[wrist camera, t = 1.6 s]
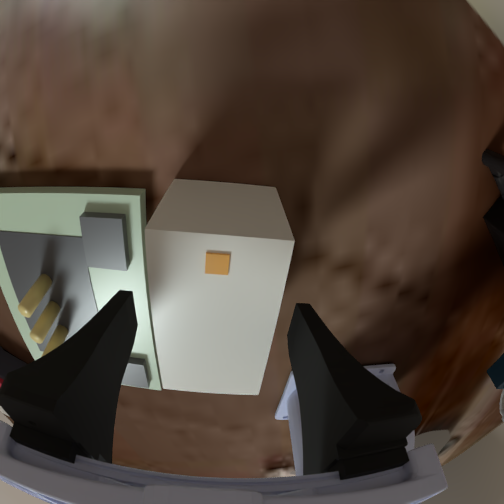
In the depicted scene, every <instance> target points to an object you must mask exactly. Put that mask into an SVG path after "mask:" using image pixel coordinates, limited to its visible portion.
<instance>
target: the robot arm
mask: <svg viewBox="0 0 504 504" xmlns="http://www.w3.org/2000/svg"><path fill="white" fill-rule="evenodd" d="M137 327H138V322H137V316H136V310H135V304H134V297H133V291H126V290H119V291H118V292H117V293H116V294H115V295H114V296H113V297H112V298H111V299H110V300H109V301H108V302H107V303H106V304H105V305H104V306H103V307H102V309H101V310H100V311H99V312H98V313H97V314H96V315H95V316H94V317H93V318H92V319H91V320H89V321H88V322H87V323H86V324H85V325H84V326H83V327H82V328H81V329H80V330H79V331H77V332H76V333H75V334H74V335H73V336H72V337H70V338H69V339H68V340H66V341H65V342H64V343H62V344H61V345H60V346H58V347H56V348H55V349H53V350H52V351H50V352H49V353H47V354H46V355H44V356H42V357H41V358H39V359H37V360H35V361H33V362H31V363H29V364H27V365H25V366H23V367H20V368H18V369H16V370H13V371H11V372H8V373H7V375H6V377H5V379H4V381H3V383H2V385H1V387H0V406H1V407H2V408H3V409H4V411H5V412H6V413H7V414H8V415H9V416H10V417H11V418H12V420H13V421H14V425H13V427H11V426H10V425H8V424H7V423H5V422H3V421H0V479H1V480H2V481H4V482H6V483H8V484H10V485H12V486H13V487H16V488H17V489H20V490H22V491H24V492H26V493H28V494H30V495H32V496H35V497H37V498H39V499H41V500H43V501H46V502H48V503H50V504H421V502H423V501H424V500H427V499H429V498H431V497H432V496H434V495H436V494H438V493H440V492H442V491H443V490H445V489H447V488H448V485H447V482H446V479H445V476H444V473H443V470H442V467H441V464H440V461H439V458H438V455H437V453H436V450H435V447H434V445H433V444H432V443H431V444H428V445H424V446H421V447H418V448H415V449H414V444H415V434H414V430H415V429H416V428H417V426H418V425H419V424H420V422H421V420H422V416H421V414H420V411H419V409H418V406H417V404H416V402H415V400H414V399H412V398H410V397H408V396H406V395H404V394H402V393H400V390H399V388H398V386H397V383H396V381H395V378H394V376H393V373H394V371H395V370H396V366H395V364H383V365H371V366H362V365H361V364H360V363H359V362H358V361H357V360H356V359H355V358H354V357H353V356H352V355H351V354H350V353H349V352H348V351H347V350H346V349H345V348H344V347H343V346H342V345H341V344H340V342H339V341H338V340H337V339H336V338H335V336H334V335H333V334H332V333H331V332H330V330H329V329H328V328H327V326H326V325H325V324H324V323H323V321H322V320H321V319H320V317H319V316H318V314H317V313H316V312H315V310H314V309H313V308H312V306H311V305H310V304H305V303H296V306H295V309H294V313H293V317H292V320H291V324H290V327H289V331H288V334H287V338H288V349H289V357H290V362H291V366H292V371H291V373H290V376H289V379H288V381H287V384H286V387H285V389H284V392H283V395H282V397H281V400H280V403H279V405H278V408H277V410H276V413H275V418H276V419H278V420H287V419H288V420H289V427H290V434H291V441H292V449H293V456H294V464H295V471H296V476H292V477H277V478H210V477H195V476H184V475H174V474H166V473H159V472H152V471H146V470H140V469H134V468H129V467H124V466H119V465H114V464H112V447H113V434H114V423H115V416H116V408H117V402H118V396H119V391H120V387H121V383H122V380H123V377H124V373H125V370H126V367H127V364H128V361H129V358H130V355H131V352H132V349H133V346H134V342H135V337H136V332H137Z"/></svg>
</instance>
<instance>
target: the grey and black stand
mask: <svg viewBox="0 0 504 504" xmlns="http://www.w3.org/2000/svg"><path fill="white" fill-rule="evenodd" d="M482 162H483V164H484V165H486V166H487V167H489V169H490V171H491V173H492V175H493V177H494V179H495V181H496V184H497V186H498V188H499V191H500V193H501V198H499V199H498V200H497V201H496V202H495V204H494V205H493V206H492V207H491V208H490V210H489V211H488V212H487V213H486V214H485V215H484V217H483V218H484V221H485V223H486V225H487V227H488V229H489V231H490V234H491V236H492V238H493V241H494V243H495V245H496V248H497V250H498V253H499V255H500V258H501V260H502V263H503V266H504V156H502V155H500V154H498V153H496V152H494V151H491V150H489V149H486V150H485V151H484V152H483V155H482ZM489 212H490V213H489Z"/></svg>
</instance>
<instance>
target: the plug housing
mask: <svg viewBox="0 0 504 504" xmlns="http://www.w3.org/2000/svg"><path fill="white" fill-rule="evenodd" d="M294 242H295V240H294V237H293V234H292V231H291V229H290V226H289V223H288V220H287V217H286V214H285V212H284V209H283V206H282V203H281V201H280V198H279V195H278V192H277V190H276V187H269V186H259V185H249V184H238V183H227V182H215V181H201V180H186V179H174V180H173V182H172V183H171V185H170V187H169V188H168V190H167V192H166V193H165V195H164V197H163V198H162V200H161V202H160V203H159V205H158V207H157V208H156V210H155V212H154V213H153V215H152V217H151V219H150V220H149V222H148V224H147V226H146V227H145V245H146V260H147V272H148V283H149V294H150V303H151V312H152V320H153V328H154V335H155V342H156V349H157V355H158V362H159V368H160V374H161V379H162V385H163V388H164V389H172V390H182V391H192V392H204V393H219V394H241V395H258V394H259V390H260V387H261V383H262V379H263V375H264V371H265V367H266V363H267V359H268V355H269V351H270V347H271V343H272V339H273V335H274V331H275V327H276V323H277V318H278V314H279V310H280V306H281V301H282V297H283V293H284V288H285V284H286V279H287V275H288V270H289V266H290V261H291V256H292V252H293V247H294Z"/></svg>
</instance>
